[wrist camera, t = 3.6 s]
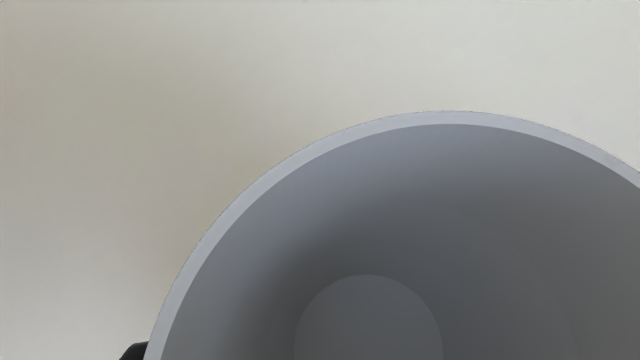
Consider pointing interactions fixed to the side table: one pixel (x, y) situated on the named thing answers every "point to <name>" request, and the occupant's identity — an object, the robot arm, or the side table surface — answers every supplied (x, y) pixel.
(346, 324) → the cup
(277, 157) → the side table surface
